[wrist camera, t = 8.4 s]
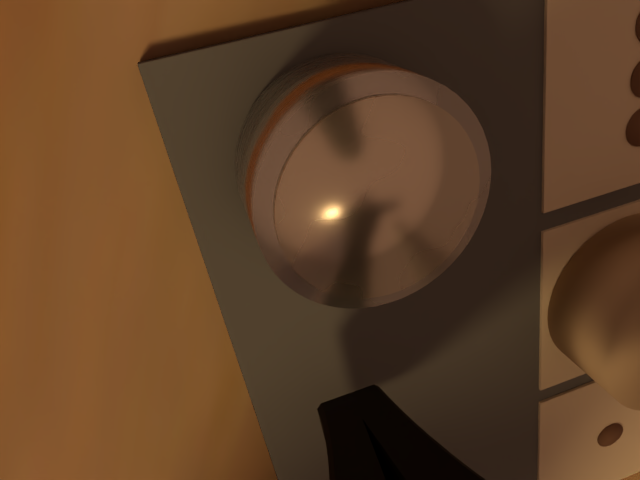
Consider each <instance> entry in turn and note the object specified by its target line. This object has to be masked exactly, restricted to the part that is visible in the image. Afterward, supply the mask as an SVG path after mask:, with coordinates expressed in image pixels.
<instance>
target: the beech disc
mask: <svg viewBox="0 0 640 480" xmlns="http://www.w3.org/2000/svg"><path fill="white" fill-rule="evenodd" d="M547 320H548V329H549V333H550V336H551V338H552V341H553V343H554V344H555V345H556V347H557V348H558V349H559V350H560V351H561V352H562V353H563V354H564V355H566V356H567V357H568V358H569V359H570V360H571V361H572V362H574V363H575V364H576V365H577V366H578V367H579V368H580V369H582V370H583V371H584V372H585V373H586V374H587V375H588V376H590V377H591V378H592V379H593V380H594V381H595V382H596V383H597V384H599V385H600V386H601V387H602V388H603V389H604V390H605V391H607V392H608V393H609V394H610V395H611V396H612V397H613V398H615V399H616V400H617V401H618V402H619V403H620V404H622V405H624V406H625V407H627V408H630V409H633V410H639V411H640V213H638V214H634V215H631V216H627V217H625V218H622V219H620V220H618V221H616V222H614V223H612V224H610V225H608V226H607V227H605V228H604V229H602V230H601V231H599V232H598V233H596V234H595V235H594V236H593V237H592V238H590V239H589V240H588V241H587V242H586V243H585V244H584V245H583V246H582V247H581V248H580V249H579V250H578V251H577V252H576V253H575V255H574V256H573V257H572V258H571V259H570V261H569V262H568V264H567V265H566V266H565V268H564V269H563V271H562V273H561V275H560V276H559V278H558V280H557V282H556V285H555V287H554V289H553V292H552V295H551V298H550V302H549V307H548V317H547Z"/></svg>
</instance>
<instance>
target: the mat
mask: <svg viewBox="0 0 640 480" xmlns="http://www.w3.org/2000/svg"><path fill="white" fill-rule="evenodd" d="M334 53H358V54H364V55H369V56H372V57H375V58H379V59H381V60H384V61H387V62H389V63H392V64H394V65H397V66H399V67H402V68H404V69H407V70H410V71H412V72H415V73H417V74H420V75H422V76H425V77H427V78H430V79H432V80H434V81H436V82H438V83H440V84H442V85H444V86H446V87H447V88H449V89H450V90H452V91H453V92H455V93H456V94H457V95H458V96H459V97H460V98H461V99H462V100H463V101H464V102H465V103H466V104H467V105H468V106H469V107H470V108H471V110H472V111H473V113H474V114H475V115H476V117H477V119H478V121H479V123H480V124H481V126H482V128H483V131H484V134H485V136H486V139H487V142H488V147H489V152H490V158H491V182H490V190H489V195H488V200H487V204H486V207H485V210H484V213H483V216H482V218H481V220H480V223H479V225H478V227H477V229H476V231H475V233H474V235H473V236H472V238H471V240H470V241H469V243H468V244H467V246H466V247H465V248H464V250H463V251H462V253H461V254H460V255H459V256H458V257H457V259H456V260H455V261H454V262H453V263H452V264H451V265H450V266H449V267H448V268H447V269H446V270H445V271H444V272H443V273H442V274H441V275H439V276H438V277H437V278H435V279H434V280H433V281H432V282H430V283H429V284H427V285H426V286H424V287H423V288H421V289H419V290H418V291H416V292H414V293H412V294H410V295H408V296H406V297H404V298H402V299H399V300H396V301H393V302H391V303H387V304H383V305H379V306H375V307H367V308H350V309H347V308H338V307H331V306H327V305H323V304H319V303H317V302H314V301H311V300H309V299H307V298H305V297H303V296H301V295H299V294H298V293H296V292H295V291H293V290H292V289H291V288H289V287H288V286H287V285H285V284H284V283H283V282H282V281H281V280H280V279H279V278H278V277H277V275H276V274H275V273H274V272H273V270H272V269H271V268H270V266H269V265H268V263H267V262H266V260H265V258H264V256H263V254H262V252H261V250H260V247H259V244H258V242H257V239H256V236H255V234H254V231H253V229H252V226H251V223H250V221H249V218H248V215H247V213H246V210H245V208H244V205H243V202H242V200H241V196H240V193H239V190H238V186H237V181H236V175H235V156H236V147H237V143H238V139H239V134H240V131H241V129H242V126H243V123H244V121H245V119H246V117H247V115H248V113H249V111H250V109H251V108H252V106H253V104H254V103H255V102H256V100H257V99H258V98H259V96H260V95H261V94H262V92H263V91H264V90H265V89H266V88H267V87H268V86H269V85H270V84H271V83H272V82H273V81H274V80H276V79H277V78H278V77H279V76H281V75H282V74H283V73H284V72H286V71H288V70H289V69H291V68H293V67H294V66H296V65H298V64H300V63H302V62H305V61H307V60H309V59H312V58H315V57H319V56H322V55H327V54H334ZM138 67H139V70H140V73H141V76H142V79H143V82H144V85H145V88H146V91H147V94H148V97H149V100H150V103H151V106H152V109H153V112H154V114H155V117H156V120H157V123H158V126H159V129H160V132H161V135H162V138H163V141H164V144H165V147H166V150H167V153H168V156H169V159H170V162H171V165H172V168H173V171H174V174H175V177H176V179H177V182H178V185H179V188H180V191H181V194H182V197H183V200H184V203H185V206H186V209H187V212H188V215H189V218H190V221H191V224H192V227H193V230H194V233H195V236H196V239H197V242H198V244H199V247H200V250H201V253H202V256H203V259H204V262H205V265H206V268H207V271H208V274H209V277H210V280H211V283H212V286H213V289H214V292H215V295H216V298H217V301H218V304H219V306H220V309H221V312H222V315H223V318H224V321H225V324H226V327H227V330H228V333H229V336H230V339H231V342H232V345H233V348H234V351H235V354H236V357H237V360H238V363H239V366H240V369H241V371H242V374H243V377H244V380H245V383H246V386H247V389H248V392H249V395H250V398H251V401H252V404H253V407H254V410H255V413H256V416H257V419H258V422H259V425H260V428H261V431H262V433H263V436H264V439H265V442H266V445H267V448H268V451H269V454H270V457H271V460H272V463H273V466H274V469H275V472H276V475H277V478H278V480H329V466H328V455H327V448H326V442H325V438H324V434H323V430H322V426H321V423H320V419H319V415H318V411H317V408H318V407H319V405H320V404H321V403H323V402H326V401H329V400H332V399H334V398H337V397H340V396H343V395H346V394H348V393H351V392H354V391H357V390H360V389H362V388H365V387H368V386H371V385H377V386H379V387H380V388H381V389H382V390H383V391H384V392H385V394H386V395H387V396H388V397H389V398H390V399H391V400H392V401H393V402H394V403H395V404H396V405H397V406H398V407H399V408H400V409H401V410H402V411H403V412H404V413H405V414H406V415H408V416H409V417H410V418H411V419H412V420H413V421H414V422H415V423H416V424H417V425H418V426H419V427H421V428H422V429H423V430H424V431H425V432H426V433H427V434H429V435H430V436H431V437H432V438H433V439H435V440H436V441H437V442H438V443H439V444H441V445H442V446H443V447H444V448H445V449H447V450H448V451H449V452H450V453H451V454H453V455H454V456H455V457H456V458H458V459H459V460H460V461H461V462H463V463H464V464H465V465H467V466H468V467H469V468H471V469H472V470H473V471H475V472H476V473H477V474H479V475H480V476H481V477H483V478H484V479H485V480H621V479H623V478H626V477H628V476H630V475H633V474H635V473H637V472H640V411H639V410H633V409H630V408H627V407H625V406H624V405H622V404H620V403H619V402H618V401H617V400H616V399H615V398H613V397H612V396H611V395H610V394H609V393H608V392H607V391H605V390H604V389H603V388H602V387H601V386H600V385H599V384H597V383H596V382H595V381H594V380H593V379H592V378H591V377H590V376H588V375H587V374H586V373H585V372H584V371H583V370H582V369H580V368H579V367H578V366H577V365H576V364H575V363H574V362H572V361H571V360H570V359H569V358H568V357H567V356H566V355H564V354H563V353H562V352H561V351H560V350H559V349H558V348H557V347H556V345H555V344H554V343H553V341H552V338H551V336H550V333H549V329H548V320H547V317H548V307H549V302H550V298H551V295H552V292H553V289H554V287H555V285H556V282H557V280H558V278H559V276H560V275H561V273H562V271H563V269H564V268H565V266H566V265H567V264H568V262H569V261H570V259H571V258H572V257H573V256H574V255H575V253H576V252H577V251H578V250H579V249H580V248H581V247H582V246H583V245H584V244H585V243H586V242H587V241H588V240H589V239H590V238H592V237H593V236H594V235H595V234H596V233H598V232H599V231H601V230H602V229H604V228H605V227H607V226H608V225H610V224H612V223H614V222H616V221H618V220H620V219H622V218H625V217H627V216H631V215H634V214H638V213H640V0H406V1H402V2H397V3H393V4H389V5H384V6H380V7H376V8H371V9H367V10H363V11H358V12H354V13H350V14H345V15H341V16H337V17H332V18H328V19H324V20H319V21H315V22H311V23H306V24H302V25H298V26H293V27H289V28H285V29H280V30H276V31H272V32H267V33H263V34H259V35H254V36H250V37H246V38H241V39H237V40H233V41H228V42H224V43H220V44H215V45H211V46H207V47H202V48H198V49H194V50H189V51H185V52H181V53H176V54H172V55H168V56H163V57H159V58H155V59H150V60H146V61H142V62H138Z"/></svg>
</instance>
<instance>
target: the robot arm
mask: <svg viewBox="0 0 640 480" xmlns="http://www.w3.org/2000/svg"><path fill="white" fill-rule="evenodd" d="M317 411H318V415H319V419H320V423H321V426H322V430H323V434H324V438H325V442H326V448H327V455H328V466H329V480H485V479H484V478H483V477H481V476H480V475H479V474H477V473H476V472H475V471H473V470H472V469H471V468H469V467H468V466H467V465H465V464H464V463H463V462H461V461H460V460H459V459H458V458H456V457H455V456H454V455H453V454H451V453H450V452H449V451H448V450H447V449H445V448H444V447H443V446H442V445H441V444H439V443H438V442H437V441H436V440H435V439H433V438H432V437H431V436H430V435H429V434H427V433H426V432H425V431H424V430H423V429H422V428H421V427H419V426H418V425H417V424H416V423H415V422H414V421H413V420H412V419H411V418H410V417H409V416H408V415H406V414H405V413H404V412H403V411H402V410H401V409H400V408H399V407H398V406H397V405H396V404H395V403H394V402H393V401H392V400H391V399H390V398H389V397H388V396H387V395H386V394H385V392H384V391H383V390H382V389H381V388H380V387H379V386H377V385H371V386H368V387H365V388H362V389H360V390H357V391H354V392H351V393H348V394H346V395H343V396H340V397H337V398H334V399H332V400H329V401H326V402H323V403H321V404H320V405H319V407H318V408H317Z"/></svg>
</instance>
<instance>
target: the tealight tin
mask: <svg viewBox="0 0 640 480" xmlns="http://www.w3.org/2000/svg"><path fill="white" fill-rule="evenodd" d="M235 175H236V181H237V186H238V190H239V193H240V196H241V200H242V202H243V205H244V208H245V210H246V213H247V215H248V218H249V221H250V223H251V226H252V229H253V231H254V234H255V236H256V239H257V242H258V244H259V247H260V250H261V252H262V254H263V256H264V258H265V260H266V262H267V263H268V265H269V266H270V268H271V269H272V270H273V272H274V273H275V274H276V275H277V277H278V278H279V279H280V280H281V281H282V282H283V283H284V284H285V285H287V286H288V287H289V288H291V289H292V290H293V291H295V292H296V293H298V294H299V295H301V296H303V297H305V298H307V299H309V300H311V301H314V302H317V303H319V304H323V305H327V306H331V307H338V308H347V309H350V308H367V307H375V306H379V305H383V304H387V303H391V302H393V301H396V300H399V299H402V298H404V297H406V296H408V295H410V294H412V293H414V292H416V291H418V290H419V289H421V288H423V287H424V286H426V285H427V284H429V283H430V282H432V281H433V280H434V279H435V278H437V277H438V276H439V275H441V274H442V273H443V272H444V271H445V270H446V269H447V268H448V267H449V266H450V265H451V264H452V263H453V262H454V261H455V260H456V259H457V257H458V256H459V255H460V254H461V253H462V251H463V250H464V248H465V247H466V246H467V244H468V243H469V241H470V240H471V238H472V236H473V235H474V233H475V231H476V229H477V227H478V225H479V223H480V220H481V218H482V216H483V213H484V210H485V207H486V204H487V200H488V195H489V190H490V182H491V158H490V152H489V147H488V142H487V139H486V136H485V134H484V131H483V128H482V126H481V124H480V123H479V121H478V119H477V117H476V115H475V114H474V113H473V111H472V110H471V108H470V107H469V106H468V105H467V104H466V103H465V102H464V101H463V100H462V99H461V98H460V97H459V96H458V95H457V94H456V93H455V92H453V91H452V90H450V89H449V88H447V87H446V86H444V85H442V84H440V83H438V82H436V81H434V80H432V79H430V78H427V77H425V76H422V75H420V74H417V73H415V72H412V71H410V70H407V69H404V68H402V67H399V66H397V65H394V64H392V63H389V62H387V61H384V60H381V59H379V58H375V57H372V56H369V55H364V54H358V53H334V54H327V55H322V56H319V57H315V58H312V59H309V60H307V61H305V62H302V63H300V64H298V65H296V66H294V67H293V68H291V69H289V70H288V71H286V72H284V73H283V74H282V75H281V76H279V77H278V78H277V79H276V80H274V81H273V82H272V83H271V84H270V85H269V86H268V87H267V88H266V89H265V90H264V91H263V92H262V94H261V95H260V96H259V98H258V99H257V100H256V102H255V103H254V104H253V106H252V108H251V109H250V111H249V113H248V115H247V117H246V119H245V121H244V123H243V126H242V129H241V131H240V134H239V139H238V143H237V147H236V156H235Z"/></svg>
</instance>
